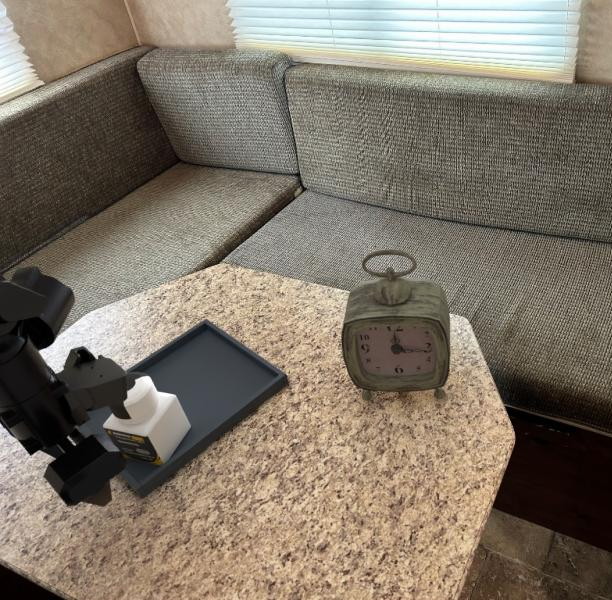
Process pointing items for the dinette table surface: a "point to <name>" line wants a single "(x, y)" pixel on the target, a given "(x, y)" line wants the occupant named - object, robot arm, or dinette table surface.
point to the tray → (198, 395)
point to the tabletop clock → (396, 332)
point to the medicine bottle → (146, 422)
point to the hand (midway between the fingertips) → (87, 480)
